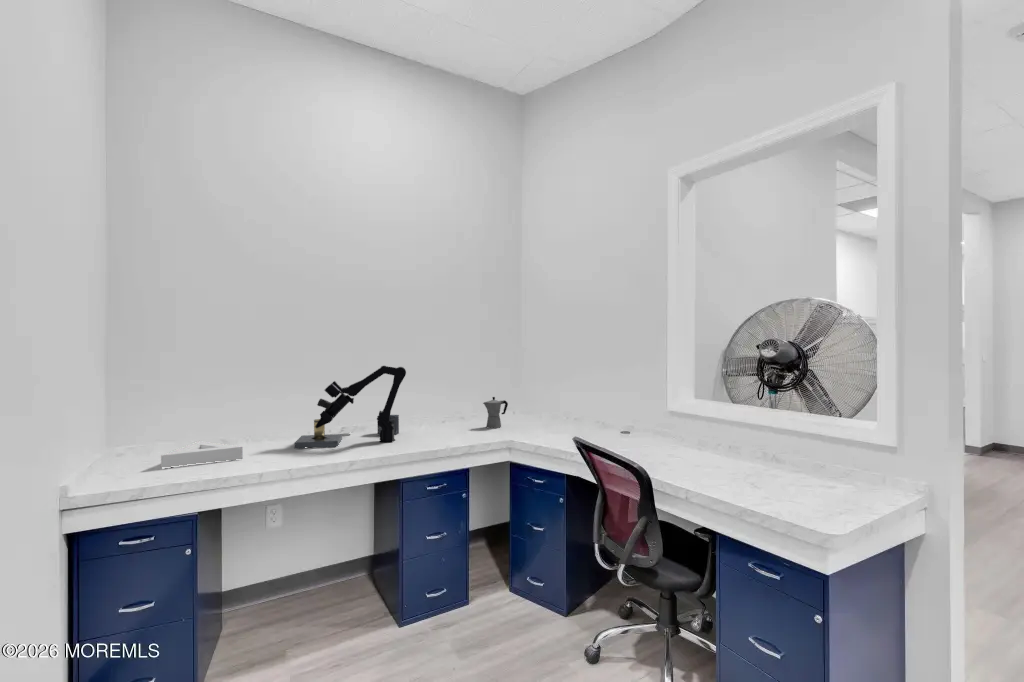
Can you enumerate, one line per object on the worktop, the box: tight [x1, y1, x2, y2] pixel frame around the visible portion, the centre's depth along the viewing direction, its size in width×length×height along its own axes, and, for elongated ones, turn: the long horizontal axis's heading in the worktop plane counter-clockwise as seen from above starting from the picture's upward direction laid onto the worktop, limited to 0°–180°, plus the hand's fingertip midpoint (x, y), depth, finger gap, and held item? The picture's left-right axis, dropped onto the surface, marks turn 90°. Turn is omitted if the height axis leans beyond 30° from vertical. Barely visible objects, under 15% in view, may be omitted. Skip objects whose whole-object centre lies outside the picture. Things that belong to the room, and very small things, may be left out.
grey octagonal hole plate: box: [294, 433, 343, 449], centre depth 267 cm, size 20×18×3 cm
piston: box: [313, 418, 326, 440], centre depth 267 cm, size 5×5×10 cm
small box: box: [376, 414, 400, 436], centre depth 294 cm, size 11×6×10 cm, turn 84°
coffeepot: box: [482, 396, 509, 429], centre depth 315 cm, size 15×9×18 cm, turn 109°
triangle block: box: [160, 440, 244, 468], centre depth 233 cm, size 30×26×6 cm
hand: (316, 426), depth 266 cm, fingers closed on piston, 5 cm apart
